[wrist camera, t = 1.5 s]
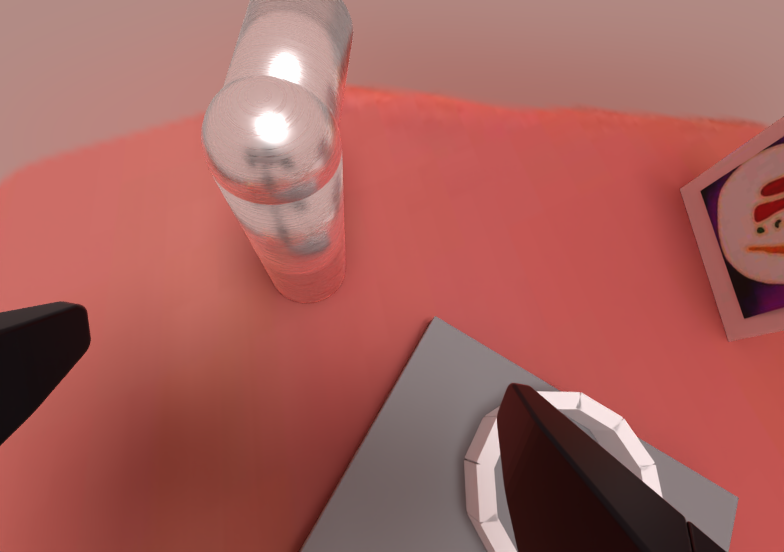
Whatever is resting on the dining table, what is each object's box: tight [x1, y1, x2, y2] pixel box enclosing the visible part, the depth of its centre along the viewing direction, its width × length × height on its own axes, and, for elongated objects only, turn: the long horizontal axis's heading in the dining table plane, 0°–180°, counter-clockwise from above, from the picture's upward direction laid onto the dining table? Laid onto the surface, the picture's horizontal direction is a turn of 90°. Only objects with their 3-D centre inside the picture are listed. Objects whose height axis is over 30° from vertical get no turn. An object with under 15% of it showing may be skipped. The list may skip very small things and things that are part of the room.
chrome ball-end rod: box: [202, 0, 353, 303], centre depth 18 cm, size 8×4×13 cm, turn 175°
